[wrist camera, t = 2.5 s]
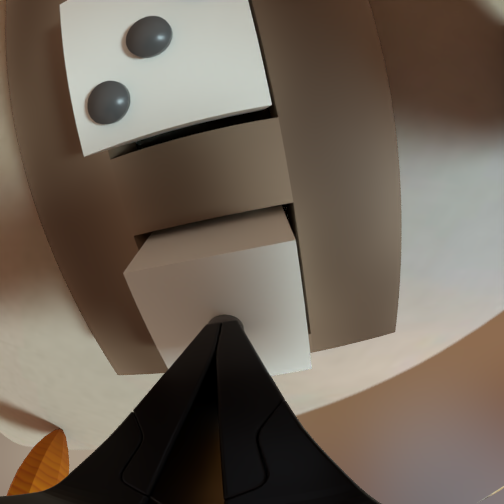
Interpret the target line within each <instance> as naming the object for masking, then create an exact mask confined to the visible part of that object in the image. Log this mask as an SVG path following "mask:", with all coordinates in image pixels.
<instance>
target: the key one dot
mask: <svg viewBox="0 0 504 504" xmlns="http://www.w3.org/2000/svg"><path fill="white" fill-rule="evenodd" d="M123 274H124V277H125V279H126V281H127V284H128V286H129V289H130V291H131V293H132V296H133V298H134V300H135V302H136V305H137V307H138V309H139V311H140V313H141V316H142V318H143V320H144V322H145V324H146V326H147V328H148V330H149V332H150V334H151V337H152V339H153V341H154V343H155V345H156V347H157V349H158V351H159V352H160V354H161V356H162V358H163V360H164V362H165V364H166V366H167V368H168V369H169V368H170V367H171V365H172V364H173V363H174V362H175V361H176V360H177V358H178V357H179V356H180V355H181V354H182V352H183V351H184V350H185V349H186V348H187V347H188V345H189V344H190V343H191V342H192V341H193V339H194V338H195V337H196V336H197V335H198V333H199V332H200V331H201V330H202V329H203V328H204V326H205V325H206V324H210V323H217V322H221V323H223V322H224V321H229V320H238V321H239V323H240V324H241V326H242V328H243V330H244V331H245V333H246V335H247V337H248V338H249V340H250V342H251V344H252V345H253V347H254V349H255V350H256V352H257V354H258V356H259V357H260V359H261V361H262V362H263V364H264V366H265V367H266V369H267V371H268V372H269V374H270V376H274V375H280V374H286V373H292V372H297V371H302V370H307V369H312V365H311V355H310V346H309V337H308V328H307V320H306V312H305V304H304V296H303V288H302V281H301V273H300V266H299V259H298V252H297V245H296V240H295V237H294V235H293V232H292V230H291V227H290V225H289V222H288V220H287V218H286V215H285V213H284V210H283V208H282V206H281V205H276V206H271V207H266V208H261V209H255V210H250V211H245V212H240V213H235V214H230V215H225V216H221V217H216V218H211V219H206V220H201V221H197V222H192V223H188V224H183V225H179V226H174V227H170V228H165V229H161V230H156V231H153V232H152V233H151V235H150V236H149V238H148V239H147V240H146V242H145V243H144V244H143V246H142V247H141V248H140V250H139V251H138V253H137V254H136V255H135V257H134V258H133V260H132V261H131V263H130V264H129V265H128V267H127V268H126V270H125V271H124V273H123Z"/></svg>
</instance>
